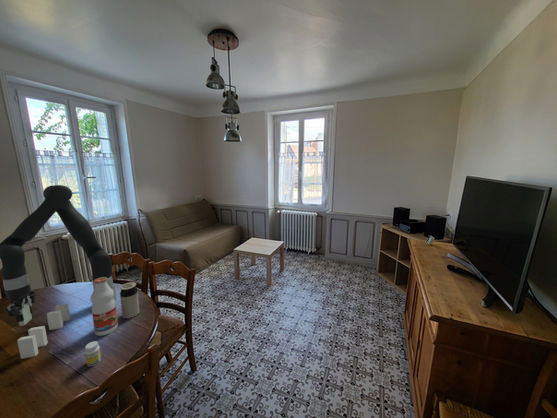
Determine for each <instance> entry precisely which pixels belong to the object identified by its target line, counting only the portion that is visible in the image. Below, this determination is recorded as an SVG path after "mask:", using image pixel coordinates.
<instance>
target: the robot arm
mask: <svg viewBox="0 0 557 418" xmlns="http://www.w3.org/2000/svg"><path fill="white" fill-rule="evenodd" d="M42 194H43V197H44V200H43V201H42V203H41V204H40V205H39V206H38V207H37V208H36V209H35V210H34V211H33V212H31V213H30V214H29V215H28V216H27V217H26V218H24V219H23V220H22V221H21V222H20V223H19V224H18V225H17V227H16V228H15V229H14V230H13V232H12V233H11V234H10V235H8V236H7V237H6V238H5V239H3V240H2V241H1V242H0V261H1V264H2V267H1V268H0V272H1V278H2V285H3V289H4V292H5V296H6V297H5V298H6V299H9V300H10V304H9V305H8V306H7V305H6V306H5V307H4V309H5V311H6V312H7V315H8V316H9V317H10V318H13V317H15V321H16V323H19V322H22V321H24V317H23V313H22V310H23V308H24V304H26V303H28V304H29V307H30V312H31V315H32V314H33V309H32V307H33V304H34V303H35V302H36V299H35V295H36V294H35V290H32V287H31V283H30V282H31V281H30V279H29V275H28V274H27V269H26V266H25V263H26V262H25V261H26V259H25V258H26V256H25V251H24V249H23V246H24V245H25V244H26V243H27V242H31V241H32V240H33V239H34V238H35V237H36V235H37V234H38V233H39V232H40V231H41V229H42V228H43V227H44V226H45V225H46V224H47V222H48V221H49V220H50V219H51V217H52V216H53V215H54V214H55V213H57V215H58V216H59V218H60V220H61V222H62V223H63V225H64V227H65V228H66V230H67V231H68V233H69V234H70V236H71V237H72V239H73V240H74V241H75V243H77V244H78V245H79V246H80V247H81V248H82V250H83V251H84V253H85V256H86V257H87V259H88V262H89V264H90V267H91V273H92V274H91V280H92V288H93V290H94V288H95V284H94V280H95V279H97V278H101V277H106V278H107V284H108V285H109V287H110V288H111V289H112V290H113V291H114V297H113V298H114V300H116V301H117V293H116V286H115V285H114V281H113V265H112V264H113V263H112V258H111V256H110V255H109V254H108V253H107V252H106V251H105V250H104V249H103V248H102V246H101V245H100V243H99V242H98V240H97V237H96V234H95V231H94V230H93V228H92V226H91V225H90V223H89V222H88V220H87V219H86V217H84V216H83V214H81V213H80V212H79V211H78V210H77V209H76V207H74V204H73V203H72V201H71V199H72V197H73V191H72V190H71V188H69V187H68V186H67V185H63V184H55V185H54V184H53V185H49V186H47V187H45V188H44V190H43V192H42ZM17 307H20V308H17ZM17 310H19V312H18V311H17Z"/></svg>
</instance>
